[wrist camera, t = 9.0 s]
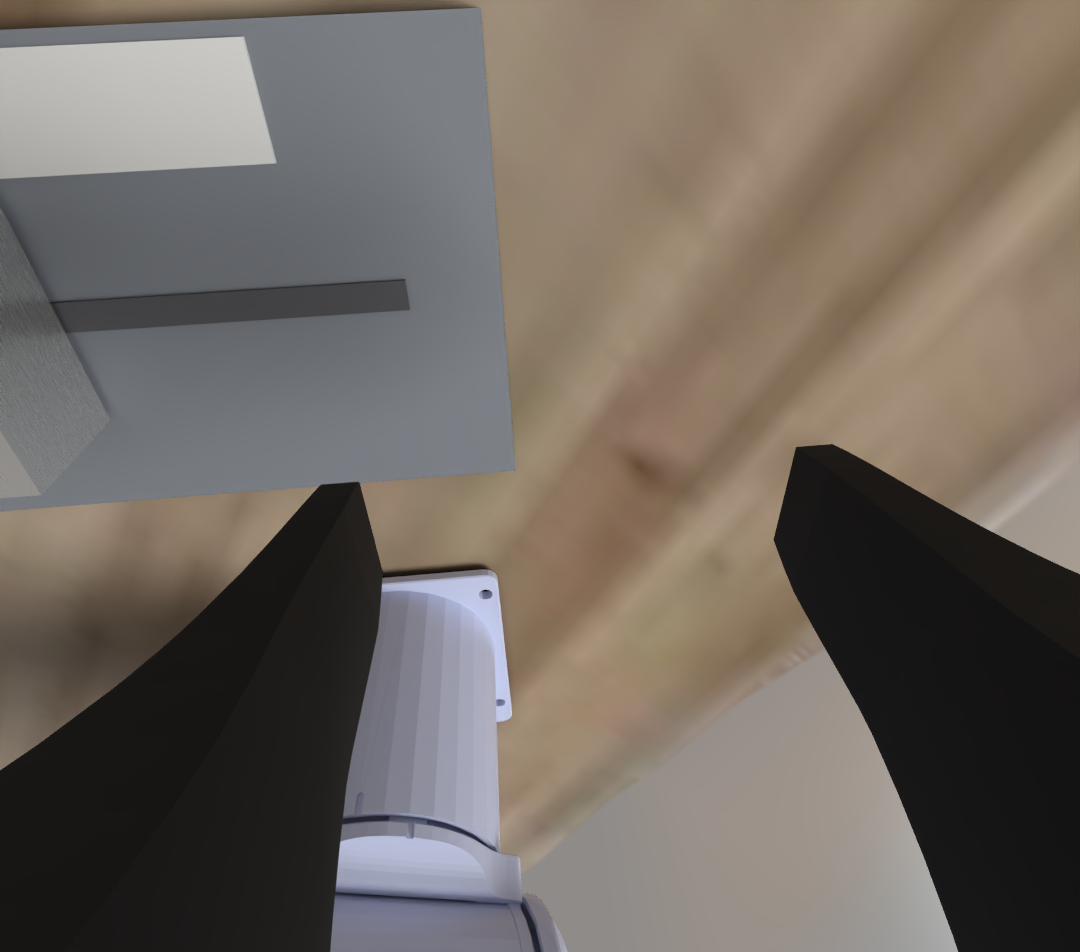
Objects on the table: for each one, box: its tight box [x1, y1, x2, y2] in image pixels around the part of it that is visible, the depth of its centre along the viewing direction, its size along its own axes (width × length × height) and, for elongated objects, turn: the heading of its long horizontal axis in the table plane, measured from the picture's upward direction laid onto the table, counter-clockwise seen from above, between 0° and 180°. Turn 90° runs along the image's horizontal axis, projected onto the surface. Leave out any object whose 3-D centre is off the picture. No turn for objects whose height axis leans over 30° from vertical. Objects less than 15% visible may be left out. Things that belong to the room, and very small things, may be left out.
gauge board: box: [0, 8, 515, 511], centre depth 15 cm, size 12×24×5 cm, turn 92°
